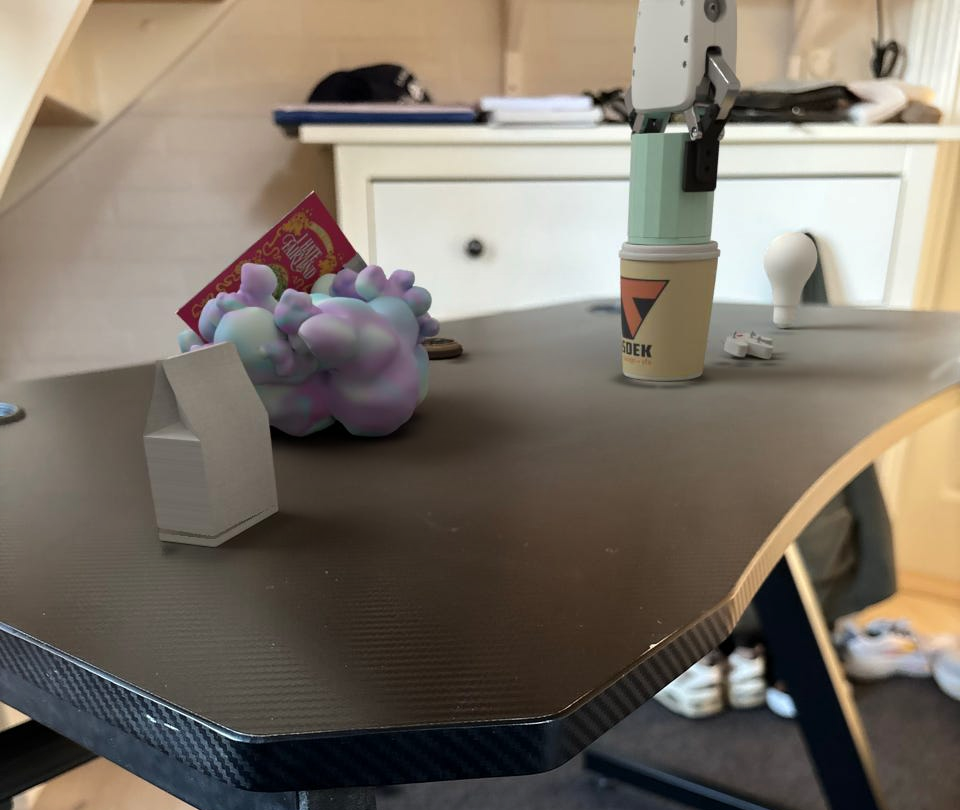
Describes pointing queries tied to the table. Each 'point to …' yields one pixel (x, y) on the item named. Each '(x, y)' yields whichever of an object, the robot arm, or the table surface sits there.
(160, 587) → the table surface
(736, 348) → the game controller
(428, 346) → the compass
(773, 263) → the lightbulb
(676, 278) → the coffee cup
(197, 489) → the milk carton
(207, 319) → the pastel lumpy blob
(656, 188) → the glass
